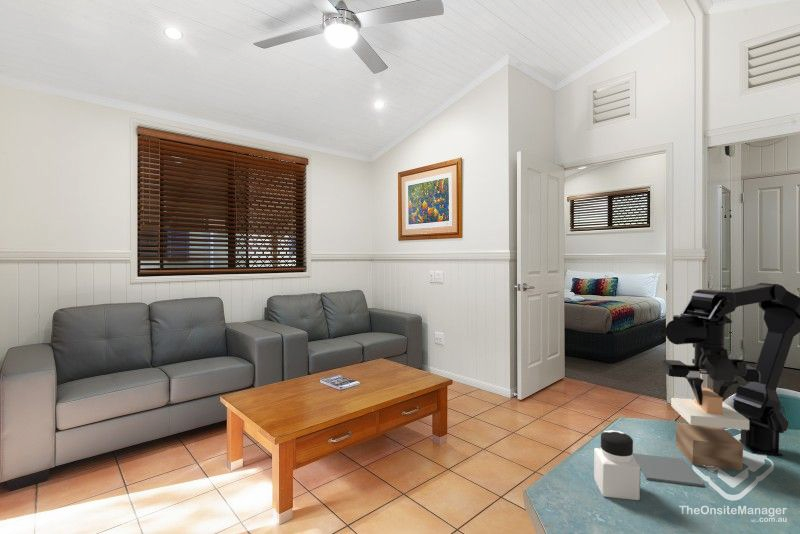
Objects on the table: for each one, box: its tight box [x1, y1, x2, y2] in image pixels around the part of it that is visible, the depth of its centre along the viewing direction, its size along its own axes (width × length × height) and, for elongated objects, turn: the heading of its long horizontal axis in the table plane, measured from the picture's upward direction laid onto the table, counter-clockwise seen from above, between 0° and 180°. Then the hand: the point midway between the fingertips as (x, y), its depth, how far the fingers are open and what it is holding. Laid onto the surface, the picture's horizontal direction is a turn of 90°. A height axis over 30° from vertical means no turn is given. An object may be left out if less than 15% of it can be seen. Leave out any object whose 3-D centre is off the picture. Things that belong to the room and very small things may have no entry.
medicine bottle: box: [593, 429, 641, 501], centre depth 87 cm, size 7×7×12 cm
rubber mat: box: [633, 452, 705, 487], centre depth 94 cm, size 11×11×1 cm
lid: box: [670, 387, 749, 430], centre depth 99 cm, size 12×12×6 cm
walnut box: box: [675, 422, 744, 471], centre depth 100 cm, size 10×10×6 cm
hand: (707, 405), depth 99 cm, fingers closed on lid, 3 cm apart
